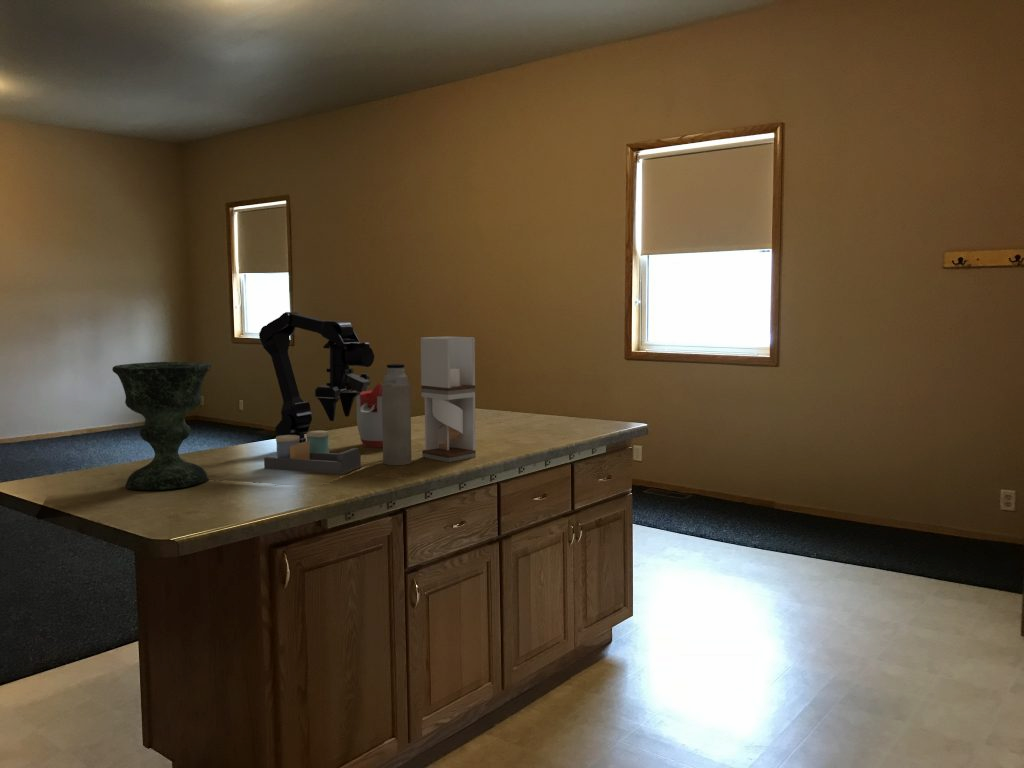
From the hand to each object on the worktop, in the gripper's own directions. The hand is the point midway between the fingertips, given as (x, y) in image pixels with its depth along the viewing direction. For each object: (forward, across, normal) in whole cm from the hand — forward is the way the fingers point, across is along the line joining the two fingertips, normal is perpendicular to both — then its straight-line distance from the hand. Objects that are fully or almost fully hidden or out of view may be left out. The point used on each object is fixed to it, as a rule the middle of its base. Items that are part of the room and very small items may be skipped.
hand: (339, 418), depth 238 cm
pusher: (+11, -16, +3) cm, 20 cm away
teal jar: (+12, -2, +6) cm, 13 cm away
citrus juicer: (+12, +24, -2) cm, 27 cm away
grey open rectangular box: (+12, -16, -1) cm, 20 cm away
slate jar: (+11, -16, +7) cm, 21 cm away
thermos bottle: (+11, -1, -18) cm, 22 cm away
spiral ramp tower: (+11, +11, -30) cm, 34 cm away
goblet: (+12, -41, +26) cm, 50 cm away
